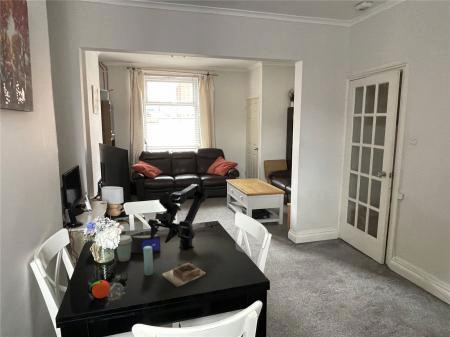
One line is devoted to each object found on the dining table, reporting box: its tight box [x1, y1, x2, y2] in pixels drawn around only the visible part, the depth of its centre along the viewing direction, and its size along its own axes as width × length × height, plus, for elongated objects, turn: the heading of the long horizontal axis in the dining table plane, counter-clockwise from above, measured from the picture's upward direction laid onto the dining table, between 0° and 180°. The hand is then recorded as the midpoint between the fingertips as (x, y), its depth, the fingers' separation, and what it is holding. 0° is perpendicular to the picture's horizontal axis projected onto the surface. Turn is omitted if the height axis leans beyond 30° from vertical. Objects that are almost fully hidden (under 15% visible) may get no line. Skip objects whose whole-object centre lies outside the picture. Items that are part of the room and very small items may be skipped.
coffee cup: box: [116, 234, 132, 262], centre depth 156 cm, size 8×8×12 cm
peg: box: [143, 246, 154, 276], centre depth 141 cm, size 4×4×13 cm
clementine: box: [89, 279, 111, 299], centre depth 122 cm, size 8×7×7 cm
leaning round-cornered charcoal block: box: [131, 234, 162, 255], centre depth 164 cm, size 16×5×9 cm, turn 98°
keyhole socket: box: [161, 262, 207, 288], centre depth 140 cm, size 16×13×4 cm
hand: (157, 241), depth 147 cm, fingers open, 9 cm apart
